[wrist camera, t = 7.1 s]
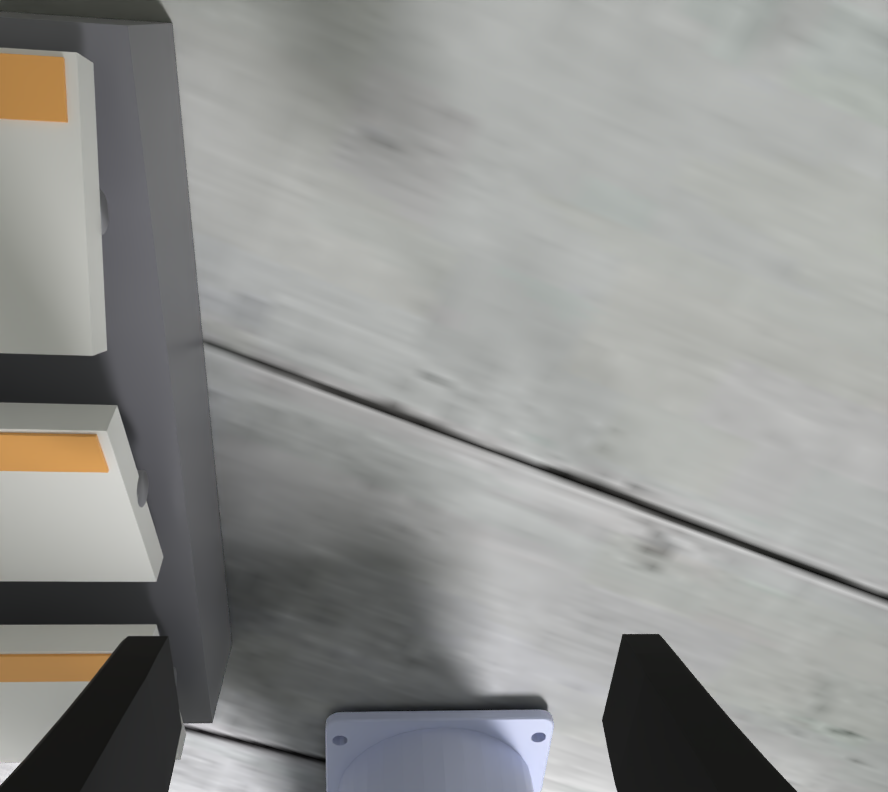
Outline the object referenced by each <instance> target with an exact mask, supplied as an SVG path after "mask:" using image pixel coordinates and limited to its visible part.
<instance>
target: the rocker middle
mask: <svg viewBox="0 0 888 792" xmlns="http://www.w3.org/2000/svg"><path fill="white" fill-rule="evenodd" d="M148 488H149V483H148V475H147V473H146V471H145V470H137V468H136V465H135V462H134V459H133V455H132V452H131V449H130V445H129V442H128V439H127V436H126V432H125V429H124V426H123V423H122V419H121V416H120V413H119V410H118V406H117V405H90V404H47V403H4V402H0V581H65V582H157V578H158V574H159V571H160V567H161V564H162V560H163V553H162V550H161V547H160V544H159V540H158V537H157V534H156V530H155V527H154V524H153V521H152V517H151V514H150V511H149V508H148V504H147V501H146V500H147V496H148Z"/></svg>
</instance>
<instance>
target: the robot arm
mask: <svg viewBox="0 0 888 792" xmlns="http://www.w3.org/2000/svg"><path fill="white" fill-rule="evenodd" d="M602 722H603V727H604V732H605V737H606V742H607V748H608V753H609V758H610V762H611V767H612V771H613V776H614V781H615V785H616V788H617V792H797V791H796V790H795V789H794V788H793V787H792V786H791V785H790V784H789V783H788V782H787V781H786V780H785V779H784V777H783V776H782V775H781V774H780V773H779V772H778V771H777V770H776V769H775V768H774V767H773V766H772V765H771V764H770V762H769V761H768V760H767V759H766V758H765V757H764V756H763V755H762V754H761V753H760V752H759V750H758V749H757V748H756V747H755V746H754V745H753V744H752V743H751V741H750V740H749V739H748V738H747V737H746V736H745V735H744V734H743V733H742V731H741V730H740V729H739V728H738V727H737V726H736V725H735V724H734V722H733V721H732V720H731V719H730V718H729V717H728V716H727V714H726V713H725V712H724V711H723V710H722V709H721V707H720V706H719V705H718V704H717V703H716V701H715V700H714V699H713V698H712V697H711V696H710V694H709V693H708V692H707V691H706V690H705V688H704V687H703V686H702V685H701V684H700V682H699V681H698V680H697V679H696V678H695V676H694V675H693V674H692V673H691V672H690V670H689V669H688V668H687V667H686V666H685V664H684V663H683V662H682V661H681V660H680V658H679V657H678V656H677V655H676V653H675V652H674V651H673V650H672V649H671V647H670V646H669V645H668V644H667V643H666V641H665V640H664V639H663V638H662V637H661V636H660V635H659V634H623V635H622V639H621V643H620V648H619V652H618V656H617V660H616V664H615V669H614V673H613V677H612V681H611V685H610V690H609V694H608V698H607V702H606V706H605V711H604V715H603V719H602ZM181 729H182V723H181V716H180V710H179V703H178V696H177V690H176V683H175V676H174V670H173V663H172V656H171V650H170V643H169V636H127V637H126V638H125V639H124V640H123V641H121V643H120V644H119V645H118V646H117V648H116V649H115V650H114V652H113V653H112V654H111V655H110V657H109V658H108V659H107V661H106V662H105V663H104V664H103V666H102V667H101V668H100V669H99V671H98V672H97V673H96V675H95V676H94V677H93V678H92V680H91V681H90V682H89V683H88V685H87V686H86V687H85V688H84V690H83V691H82V692H81V693H80V694H79V696H78V697H77V698H76V699H75V700H74V702H73V703H72V704H71V705H70V707H69V708H68V709H67V710H66V711H65V713H64V714H63V715H62V716H61V717H60V719H59V720H58V721H57V722H56V723H55V724H54V726H53V727H52V728H51V729H50V730H49V731H48V732H47V734H46V735H45V736H44V737H43V738H42V739H41V741H40V742H39V743H38V744H37V745H36V746H35V748H34V749H33V750H32V751H31V752H30V753H29V754H28V756H27V757H26V758H25V759H24V760H23V761H22V762H21V764H20V765H19V766H18V767H17V768H16V769H15V770H14V771H13V772H12V773H11V775H10V776H9V777H8V778H7V779H6V780H5V781H4V782H3V783H2V784H1V785H0V792H168V790H169V785H170V781H171V776H172V772H173V767H174V763H175V758H176V753H177V748H178V743H179V738H180V733H181ZM553 729H554V722H553V718H552V715H551V714H550V712H548V711H546V710H462V711H383V712H337V713H334V714H332V715H330V716H329V717H328V718H327V720H326V727H325V744H326V792H541V790H542V785H543V780H544V775H545V770H546V765H547V759H548V754H549V749H550V744H551V739H552V734H553ZM339 735H341V736H339Z"/></svg>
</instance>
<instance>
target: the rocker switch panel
mask: <svg viewBox="0 0 888 792" xmlns="http://www.w3.org/2000/svg"><path fill="white" fill-rule="evenodd" d="M0 48H15V49H31V50H47V51H62V52H77V53H79V54H80V55H82V56H83V57H85V58H86V59H88V60H89V61H91V62H93V65H94V86H95V107H96V128H97V149H98V170H99V189H101V190H102V191H103V193H104V194H105V197H106V200H107V204H108V211H109V221H108V227H107V230H106V232H105V233H104V234H103V235H102V254H103V275H104V296H105V317H106V337H107V351H104V352H102V353H99V354H96V355H93V356H81V355H46V354H12V353H0V402H4V403H47V404H90V405H117V406H118V410H119V413H120V416H121V419H122V423H123V426H124V429H125V432H126V436H127V439H128V442H129V445H130V449H131V452H132V455H133V459H134V462H135V465H136V468H137V470H145V471H146V473H147V475H148V483H149V488H148V496H147V500H146V501H147V504H148V508H149V511H150V514H151V517H152V521H153V524H154V527H155V530H156V534H157V537H158V540H159V544H160V547H161V550H162V553H163V560H162V564H161V567H160V571H159V574H158V578H157V582H65V581H0V625H125V624H156V625H157V628H158V632H159V636H169V643H170V650H171V656H172V663H173V667H175V668H176V671H177V683H176V690H177V696H178V703H179V709H180V713H181V717H182V720H183V723H212V722H213V718H214V714H215V710H216V706H217V702H218V698H219V694H220V690H221V686H222V682H223V678H224V674H225V670H226V666H227V662H228V658H229V654H230V650H231V646H232V638H231V628H230V618H229V607H228V597H227V586H226V576H225V566H224V555H223V545H222V534H221V524H220V514H219V503H218V493H217V482H216V472H215V462H214V451H213V441H212V430H211V420H210V410H209V399H208V389H207V378H206V368H205V358H204V347H203V337H202V326H201V316H200V306H199V295H198V285H197V274H196V264H195V254H194V243H193V233H192V222H191V212H190V202H189V191H188V181H187V170H186V160H185V150H184V139H183V129H182V118H181V108H180V98H179V87H178V77H177V66H176V56H175V46H174V35H173V25H172V23H164V22H149V21H135V20H120V19H105V18H91V17H76V16H61V15H47V14H32V13H17V12H2V11H0Z"/></svg>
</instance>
